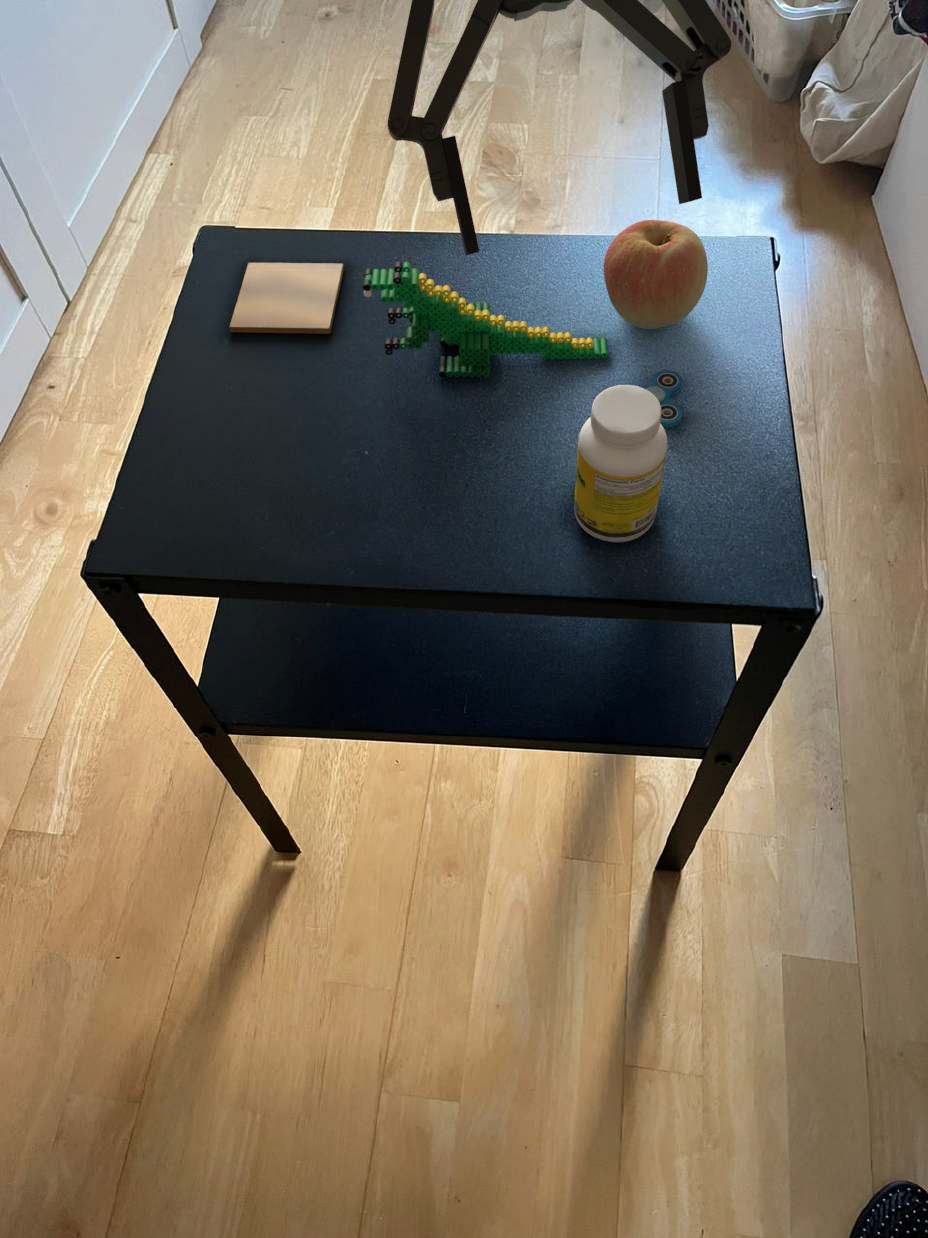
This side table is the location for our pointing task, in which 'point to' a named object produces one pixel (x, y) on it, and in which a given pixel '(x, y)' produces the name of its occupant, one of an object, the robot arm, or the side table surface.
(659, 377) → the toy
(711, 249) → the side table surface
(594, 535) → the pill bottle
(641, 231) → the apple
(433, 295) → the green brick dinosaur
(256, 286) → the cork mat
